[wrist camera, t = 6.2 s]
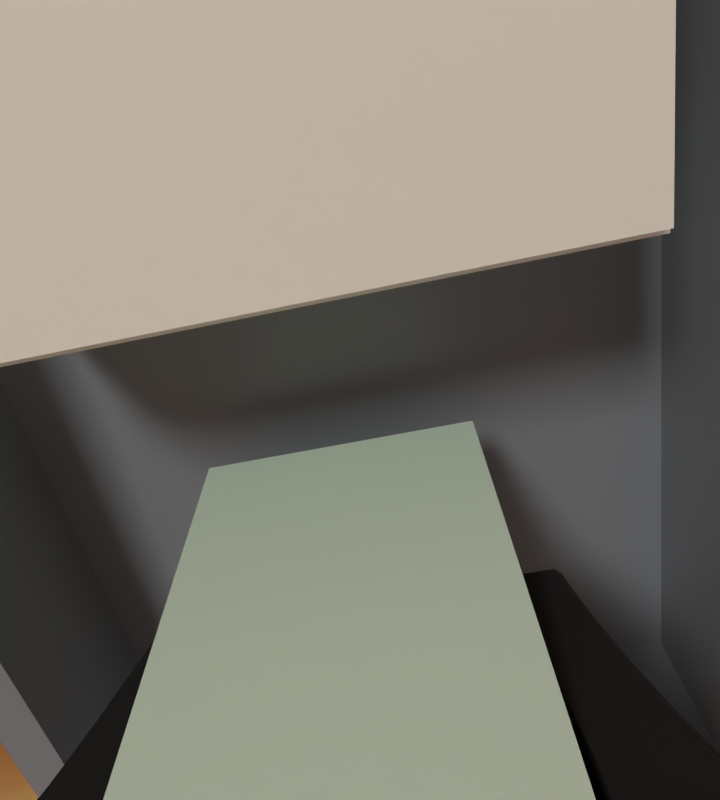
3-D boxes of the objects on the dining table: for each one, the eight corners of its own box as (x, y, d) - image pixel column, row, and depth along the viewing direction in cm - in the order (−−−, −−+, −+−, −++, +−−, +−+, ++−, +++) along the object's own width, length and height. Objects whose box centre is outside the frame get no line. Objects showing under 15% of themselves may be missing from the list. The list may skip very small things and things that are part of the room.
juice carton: (475, 417, 11) (718, 1142, 4) (502, 616, 13) (690, 1317, 6) (204, 466, 11) (-41, 1211, 4) (275, 651, 13) (194, 1351, 6)
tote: (712, -933, 6) (1160, -2156, 3) (681, 635, 16) (777, 803, 12) (-478, -530, 7) (-1231, -1065, 4) (155, 715, 17) (102, 891, 13)
